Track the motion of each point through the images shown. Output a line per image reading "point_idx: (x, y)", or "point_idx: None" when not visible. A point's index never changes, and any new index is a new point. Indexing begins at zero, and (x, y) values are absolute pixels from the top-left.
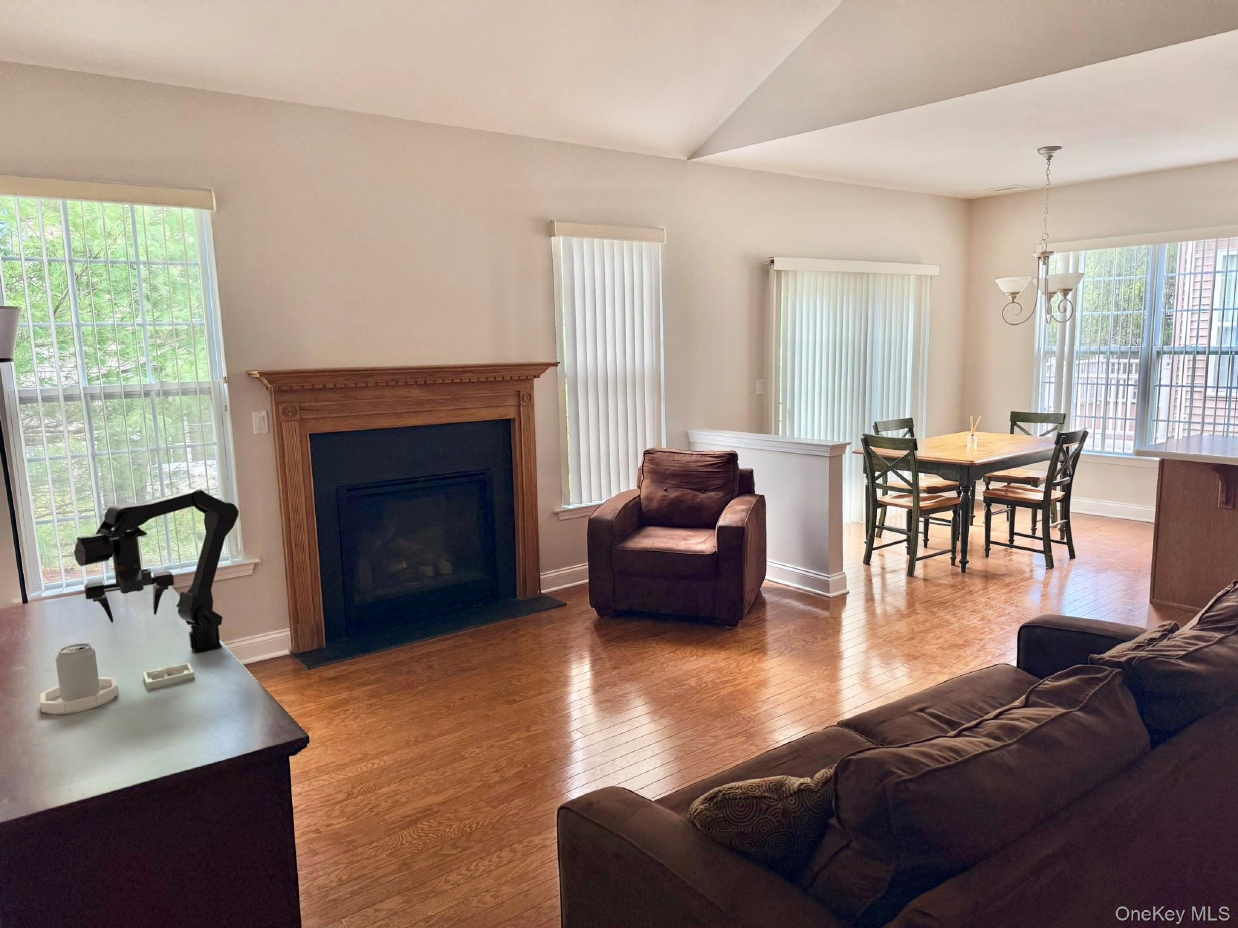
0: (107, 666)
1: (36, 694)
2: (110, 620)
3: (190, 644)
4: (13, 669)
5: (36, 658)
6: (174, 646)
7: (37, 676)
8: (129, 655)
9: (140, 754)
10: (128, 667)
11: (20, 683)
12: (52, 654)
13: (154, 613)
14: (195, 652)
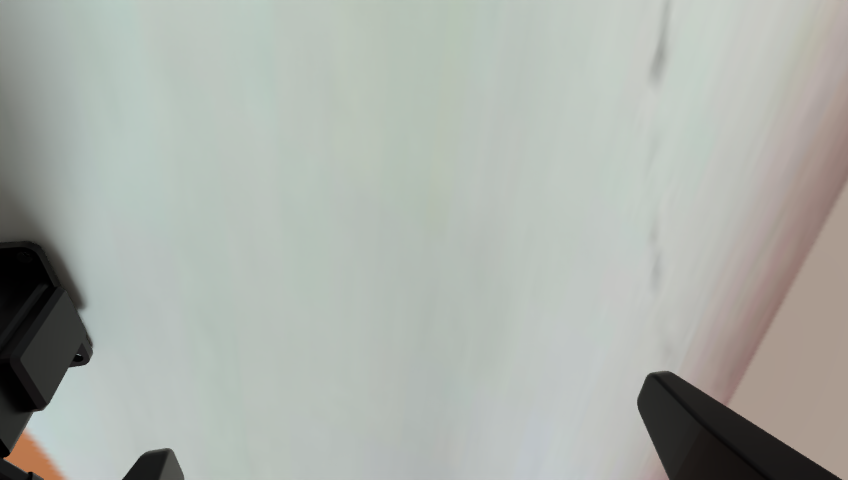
0: (495, 281)
1: (822, 74)
2: (696, 388)
3: (69, 328)
4: (724, 399)
5: (646, 457)
6: (198, 394)
7: (713, 304)
8: (396, 369)
9: None
10: (416, 213)
11: (779, 261)
12: (604, 470)
13: (160, 464)
14: (36, 244)
